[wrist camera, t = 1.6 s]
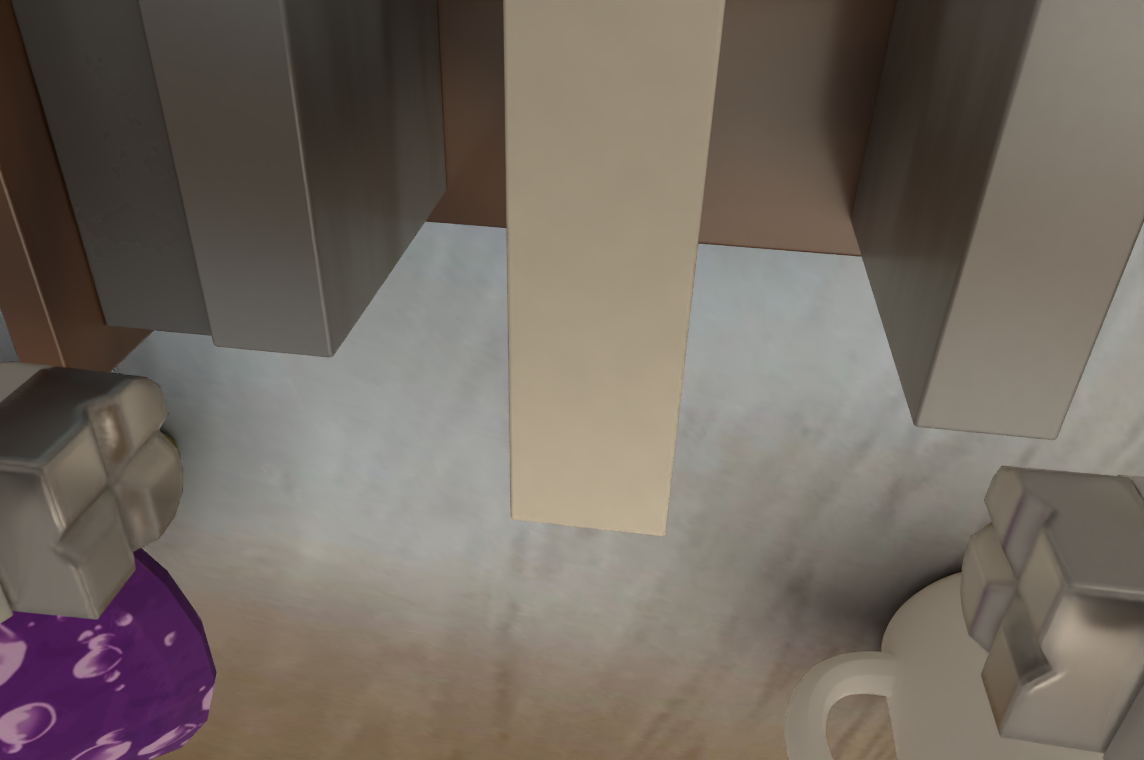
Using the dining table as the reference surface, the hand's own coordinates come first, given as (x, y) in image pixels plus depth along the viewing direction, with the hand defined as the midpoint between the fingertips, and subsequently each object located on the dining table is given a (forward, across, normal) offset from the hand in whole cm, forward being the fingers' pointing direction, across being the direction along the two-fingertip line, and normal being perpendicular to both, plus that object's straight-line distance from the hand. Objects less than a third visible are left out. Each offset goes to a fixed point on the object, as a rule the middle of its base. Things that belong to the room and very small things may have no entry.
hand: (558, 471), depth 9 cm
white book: (+16, 0, 0) cm, 16 cm away
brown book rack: (+17, +1, 0) cm, 17 cm away
